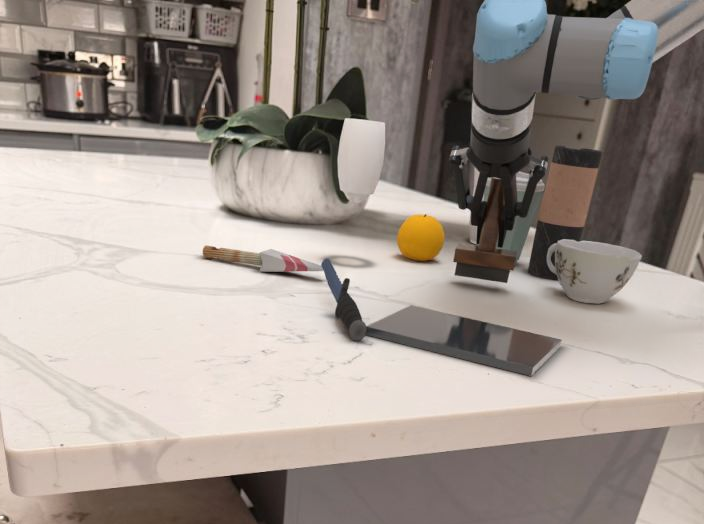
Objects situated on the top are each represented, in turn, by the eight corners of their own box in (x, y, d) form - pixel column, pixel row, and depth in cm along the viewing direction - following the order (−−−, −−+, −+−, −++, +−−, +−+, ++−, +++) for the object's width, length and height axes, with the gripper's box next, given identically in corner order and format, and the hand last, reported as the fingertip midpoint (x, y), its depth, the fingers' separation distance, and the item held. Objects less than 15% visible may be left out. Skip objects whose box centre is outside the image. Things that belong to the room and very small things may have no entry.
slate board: (560, 347, 93) (562, 339, 93) (530, 376, 82) (533, 367, 82) (409, 312, 101) (411, 305, 100) (364, 334, 90) (365, 326, 89)
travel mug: (555, 282, 128) (587, 151, 118) (517, 271, 132) (545, 144, 122) (578, 278, 132) (612, 152, 123) (541, 268, 137) (570, 146, 127)
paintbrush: (320, 261, 108) (198, 243, 115) (319, 280, 109) (199, 262, 116) (331, 257, 111) (212, 240, 118) (329, 276, 112) (212, 258, 119)
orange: (420, 253, 138) (427, 209, 134) (449, 263, 132) (457, 218, 129) (385, 254, 134) (392, 209, 130) (413, 265, 128) (421, 218, 125)
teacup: (643, 307, 118) (659, 253, 114) (595, 313, 111) (611, 257, 107) (564, 283, 128) (577, 233, 124) (515, 287, 121) (527, 235, 117)
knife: (355, 308, 84) (343, 349, 87) (375, 311, 85) (362, 352, 88) (318, 238, 103) (309, 274, 106) (335, 242, 104) (326, 277, 107)
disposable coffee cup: (539, 266, 138) (560, 177, 131) (501, 270, 132) (521, 176, 124) (494, 254, 145) (511, 168, 138) (456, 256, 139) (472, 167, 131)
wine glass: (379, 263, 126) (397, 124, 116) (354, 268, 121) (371, 122, 111) (343, 254, 130) (358, 118, 120) (318, 259, 124) (331, 117, 114)
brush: (511, 277, 118) (532, 180, 112) (510, 284, 114) (531, 183, 107) (453, 269, 120) (470, 173, 113) (450, 275, 116) (467, 175, 109)
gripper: (433, 135, 97) (435, 251, 119) (558, 150, 93) (537, 266, 115) (447, 89, 99) (447, 211, 121) (571, 102, 95) (547, 225, 117)
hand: (491, 238), depth 118 cm, fingers closed on brush, 3 cm apart
